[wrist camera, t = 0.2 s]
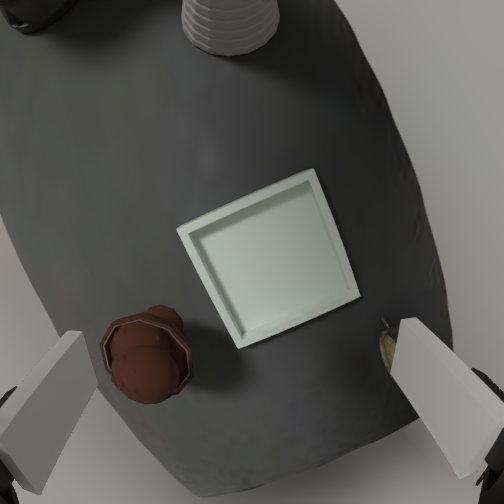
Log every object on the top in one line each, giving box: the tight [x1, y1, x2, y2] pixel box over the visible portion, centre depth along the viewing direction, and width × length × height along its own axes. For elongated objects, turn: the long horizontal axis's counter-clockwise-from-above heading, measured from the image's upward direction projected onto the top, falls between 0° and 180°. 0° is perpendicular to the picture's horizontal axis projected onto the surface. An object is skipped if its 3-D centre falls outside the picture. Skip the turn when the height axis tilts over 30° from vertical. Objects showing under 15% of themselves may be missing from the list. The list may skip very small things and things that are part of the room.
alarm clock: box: [379, 317, 409, 401], centre depth 36 cm, size 11×5×16 cm, turn 20°
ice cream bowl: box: [100, 305, 194, 404], centre depth 34 cm, size 11×11×15 cm
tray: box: [176, 169, 360, 349], centre depth 39 cm, size 17×17×2 cm
